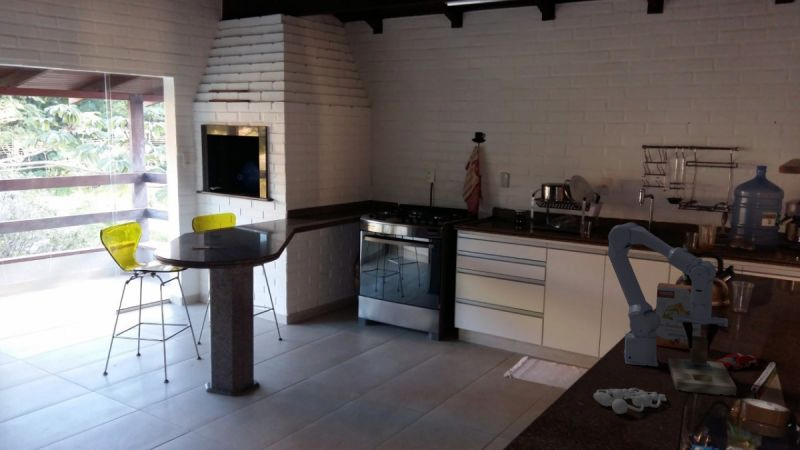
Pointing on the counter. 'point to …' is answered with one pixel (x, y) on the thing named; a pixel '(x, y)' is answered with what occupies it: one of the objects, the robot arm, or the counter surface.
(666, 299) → the cracker box
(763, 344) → the counter surface
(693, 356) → the walnut peg
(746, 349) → the counter surface
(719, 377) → the birch board
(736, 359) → the race car
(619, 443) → the counter surface
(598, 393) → the tangled rod sculpture
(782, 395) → the counter surface
